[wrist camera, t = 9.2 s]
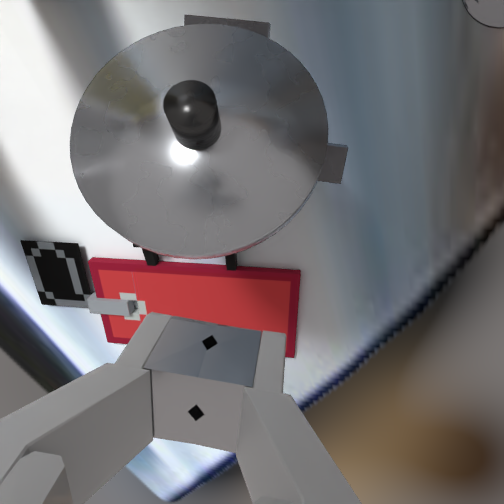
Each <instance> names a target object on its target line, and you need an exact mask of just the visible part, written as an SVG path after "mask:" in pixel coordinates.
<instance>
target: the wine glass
mask: <svg viewBox="0 0 504 504" xmlns="http://www.w3.org/2000/svg"><path fill="white" fill-rule="evenodd" d="M462 1H463V4H464V6H465V8H466V9H467V11H468V13H469V14H470V15H471V16H472V17H473V18H474V19H475V20H477V21H478V22H480V23H482V24H484V25H487V26H490V27H496V28H501V27H504V0H462Z"/></svg>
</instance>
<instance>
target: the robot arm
mask: <svg viewBox="0 0 504 504" xmlns="http://www.w3.org/2000/svg"><path fill="white" fill-rule="evenodd" d="M261 335H262V336H261ZM260 342H261V343H260ZM285 352H286V334H285V333H279V332H271V331H264V330H263V332H262V331H260V330H253V329H247V328H241V327H234V326H228V325H222V324H216V323H211V322H206V321H200V320H195V319H190V318H184V317H179V316H172V315H166V314H161V313H155V312H151V313H149V314H148V315H146V317H145V318H144V320H143V321H142V323H141V324H140V326H139V327H138V329H137V330H136V332H135V333H134V335H133V336H132V338H131V340H130V341H129V343H128V344H127V346H126V347H125V349H124V350H123V352H122V353H121V355H120V356H119V358H118V359H117V361H116V362H115V364H111V363H106V364H104V365H102V366H100V367H98V368H96V369H95V370H93V371H91V372H89V373H87V374H85V375H83V376H81V377H79V378H78V379H76V380H74V381H72V382H70V383H68V384H66V385H64V386H62V387H60V388H59V389H57V390H55V391H53V392H51V393H49V394H47V395H45V396H44V397H42V398H40V399H38V400H36V401H34V402H32V403H30V404H28V405H26V406H25V407H23V408H21V409H19V410H17V411H15V412H13V413H11V414H9V415H7V416H6V417H4V418H2V419H0V504H84V503H85V502H86V501H87V500H89V498H91V497H92V496H93V495H94V494H95V493H96V492H97V491H98V490H99V489H101V487H103V486H104V485H105V484H106V483H107V482H108V481H109V480H110V479H111V478H112V477H114V476H115V475H116V474H117V473H118V472H119V471H120V470H121V469H122V468H123V467H124V466H126V465H127V464H128V463H129V462H130V461H131V460H132V459H133V458H134V457H135V456H136V455H137V454H139V453H140V452H141V451H142V450H143V449H144V448H145V447H146V446H147V445H148V444H149V443H151V442H152V441H153V437H154V438H160V439H166V440H173V441H179V442H185V443H192V444H197V445H202V446H206V447H211V448H215V449H220V450H224V451H229V452H234V453H236V457H237V459H238V462H239V465H240V468H241V471H242V473H243V477H244V479H245V482H246V485H247V488H248V491H249V494H250V497H251V499H252V502H253V504H362V503H361V502H360V500H359V499H358V497H357V496H356V494H355V493H354V491H353V490H352V488H351V487H350V485H349V484H348V482H347V481H346V479H345V478H344V476H343V475H342V473H341V471H340V470H339V468H338V467H337V465H336V464H335V462H334V461H333V459H332V458H331V456H330V455H329V453H328V452H327V450H326V449H325V447H324V446H323V444H322V443H321V441H320V439H319V438H318V436H317V435H316V433H315V432H314V430H313V429H312V427H311V426H310V424H309V423H308V421H307V420H306V418H305V416H304V415H303V413H302V412H301V410H300V409H299V407H298V406H297V404H296V403H295V401H294V400H293V398H292V397H291V395H288V394H283V382H284V367H285Z"/></svg>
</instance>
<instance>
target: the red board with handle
mask: <svg viewBox="0 0 504 504" xmlns="http://www.w3.org/2000/svg"><path fill="white" fill-rule="evenodd" d="M20 241H21V244H22V247H23V250H24V253H25V256H26V259H27V262H28V265H29V268H30V271H31V274H32V277H33V280H34V283H35V286H36V289H37V292H38V295H39V297H40V300H41V303H42V304H44V305H57V306H71V307H85V308H89V310H90V313H95V314H101V317H102V321H103V325H104V329H105V333H106V337H107V341H108V342H109V343H121V344H128V343H129V341H130V340H131V338H132V336H133V335H134V333H135V332H136V330H137V329H138V327H139V326H140V324H141V323H142V321H143V320H144V318H145V317H146V315H148V314H149V313H151V312H155V313H161V314H166V315H172V316H179V317H184V318H190V319H195V320H200V321H206V322H211V323H216V324H222V325H228V326H234V327H241V328H247V329H253V330H260V331H262V332H263V330H264V331H271V332H279V333H285V334H286V352H285V357H291V358H294V354H295V341H296V328H297V314H298V301H299V288H300V275H301V271H300V270H291V269H276V268H261V267H246V266H237V257H236V253H234V254H231V255H227V256H225V258H226V265H216V264H198V263H181V262H164V261H159V259H158V256H157V253H154V252H152V251H149V250H146V249H143V248H142V250H143V253H144V257H145V260H129V259H112V258H95V257H92V258H91V259H90V260H89V261H88V264H89V268H90V272H91V276H92V280H93V284H94V288H95V292H93V293H92V294H91V293H90V289H89V285H88V281H87V277H86V273H85V269H84V265H83V261H82V257H81V253H80V249H79V245H78V243H62V242H43V241H25V240H20ZM133 247H140V246H138V245H136V244H134V243H133ZM237 253H238V252H237ZM133 300H136V301H137V304H138V309H135V307H134V301H133ZM261 336H262V335H261ZM260 343H261V342H260Z"/></svg>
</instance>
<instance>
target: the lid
mask: <svg viewBox="0 0 504 504" xmlns="http://www.w3.org/2000/svg"><path fill="white" fill-rule="evenodd" d="M327 144H328V122H327V114H326V110H325V106H324V102H323V99H322V96H321V94H320V92H319V89H318V87H317V85H316V83H315V82H314V80H313V78H312V77H311V75H310V73H309V72H308V71H307V70H306V68H305V67H304V66H303V65H302V64H301V62H300V61H299V60H298V59H296V58H295V57H294V56H293V55H292V54H291V53H290V52H289V51H287V50H286V49H285V48H283V47H282V46H280V45H279V44H278V43H276V42H274V41H272V40H270V39H269V38H267V37H265V36H263V35H260V34H258V33H255V32H253V31H250V30H246V29H242V28H239V27H235V26H228V25H221V24H193V25H185V26H179V27H174V28H170V29H167V30H163V31H160V32H157V33H155V34H152V35H150V36H147V37H145V38H143V39H141V40H139V41H137V42H135V43H133V44H132V45H130V46H129V47H127V48H126V49H124V50H123V51H121V52H120V53H118V54H117V55H116V56H115V57H114V58H112V59H111V60H110V61H109V62H108V63H107V64H106V65H105V66H104V67H103V68H102V69H101V70H100V71H99V72H98V73H97V74H96V76H95V77H94V79H93V80H92V81H91V83H90V84H89V85H88V87H87V89H86V90H85V92H84V94H83V96H82V98H81V100H80V102H79V104H78V107H77V110H76V112H75V115H74V119H73V123H72V127H71V136H70V158H71V163H72V168H73V173H74V176H75V179H76V182H77V184H78V187H79V189H80V191H81V193H82V195H83V196H84V198H85V200H86V202H87V203H88V204H89V206H90V207H91V208H92V210H93V211H94V212H95V213H96V215H97V216H98V217H100V218H101V219H102V220H103V221H104V222H105V223H106V224H107V225H108V226H109V227H111V228H112V229H113V230H115V231H116V232H117V233H119V234H120V235H121V236H123V237H124V238H126V239H127V240H128V241H130V242H132V243H134V244H136V245H138V246H140V247H141V248H143V249H146V250H149V251H152V252H154V253H157V254H160V255H165V256H170V257H174V258H184V259H209V258H216V257H222V256H227V255H231V254H234V253H237V252H240V251H244V250H246V249H248V248H251V247H253V246H255V245H257V244H259V243H261V242H263V241H265V240H266V239H268V238H269V237H271V236H273V235H274V234H276V233H277V232H278V231H279V230H281V229H282V228H283V227H284V226H285V225H287V224H288V223H289V222H290V221H291V220H292V219H293V218H294V217H295V215H296V214H297V213H298V212H299V211H300V210H301V208H302V207H303V206H304V204H305V203H306V201H307V200H308V199H309V197H310V195H311V193H312V191H313V189H314V187H315V185H316V183H317V180H318V178H319V175H320V172H321V169H322V166H323V163H324V160H325V155H326V149H327Z"/></svg>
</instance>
